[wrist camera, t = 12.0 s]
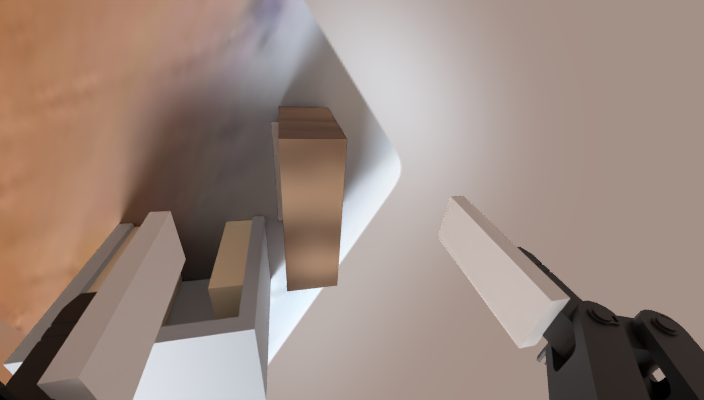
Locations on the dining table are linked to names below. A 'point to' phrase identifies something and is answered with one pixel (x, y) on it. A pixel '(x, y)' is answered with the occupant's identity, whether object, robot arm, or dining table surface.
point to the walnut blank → (311, 194)
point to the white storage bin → (194, 320)
